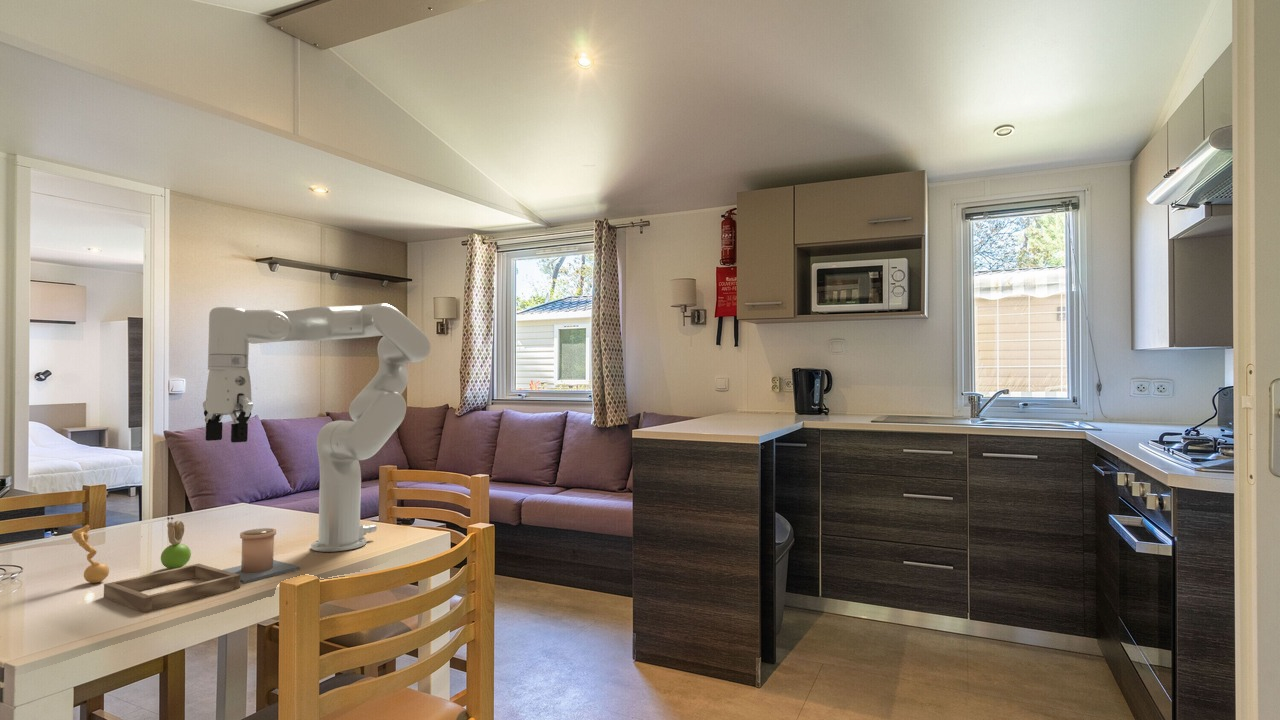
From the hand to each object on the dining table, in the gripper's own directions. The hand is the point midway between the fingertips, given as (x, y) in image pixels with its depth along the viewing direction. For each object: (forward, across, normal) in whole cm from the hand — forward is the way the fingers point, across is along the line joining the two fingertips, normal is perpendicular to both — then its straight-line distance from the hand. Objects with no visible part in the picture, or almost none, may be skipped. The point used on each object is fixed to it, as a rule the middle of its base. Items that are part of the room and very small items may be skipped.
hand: (226, 441), depth 140 cm
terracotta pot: (+28, -7, -4) cm, 29 cm away
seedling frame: (+28, -6, +13) cm, 32 cm away
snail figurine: (+29, +11, +4) cm, 31 cm away
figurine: (+28, +15, +18) cm, 37 cm away
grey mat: (+28, -7, -3) cm, 29 cm away
